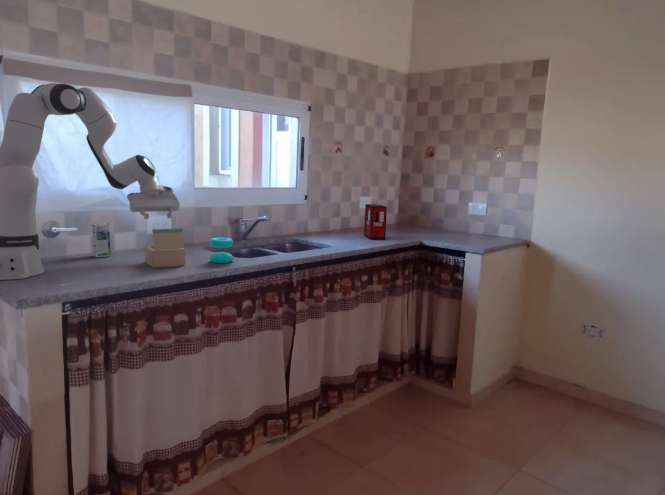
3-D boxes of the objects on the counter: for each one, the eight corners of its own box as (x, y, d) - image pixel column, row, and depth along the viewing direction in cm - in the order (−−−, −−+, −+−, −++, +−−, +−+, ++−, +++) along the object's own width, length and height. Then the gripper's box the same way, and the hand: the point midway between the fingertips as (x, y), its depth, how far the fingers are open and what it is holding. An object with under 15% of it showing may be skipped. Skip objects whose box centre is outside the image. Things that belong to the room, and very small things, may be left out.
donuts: (234, 240, 199) (210, 240, 196) (234, 263, 201) (210, 264, 198) (231, 236, 209) (208, 237, 205) (231, 259, 210) (208, 259, 207)
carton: (152, 268, 186) (152, 250, 185) (144, 262, 197) (143, 245, 196) (185, 265, 193) (185, 248, 192) (176, 259, 204) (175, 243, 203)
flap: (154, 249, 185) (152, 229, 185) (154, 249, 185) (152, 229, 185) (184, 247, 191) (182, 228, 191) (183, 247, 192) (181, 228, 192)
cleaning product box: (385, 240, 283) (386, 206, 280) (370, 240, 282) (372, 206, 278) (377, 236, 299) (379, 204, 296) (363, 236, 298) (365, 204, 294)
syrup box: (96, 257, 202) (95, 224, 200) (93, 255, 207) (91, 222, 204) (111, 256, 206) (109, 223, 204) (107, 254, 210) (105, 222, 208)
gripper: (127, 187, 197) (133, 213, 191) (176, 188, 209) (184, 212, 202) (125, 197, 202) (131, 223, 195) (173, 197, 213) (181, 221, 207)
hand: (158, 217), depth 199 cm, fingers open, 8 cm apart
